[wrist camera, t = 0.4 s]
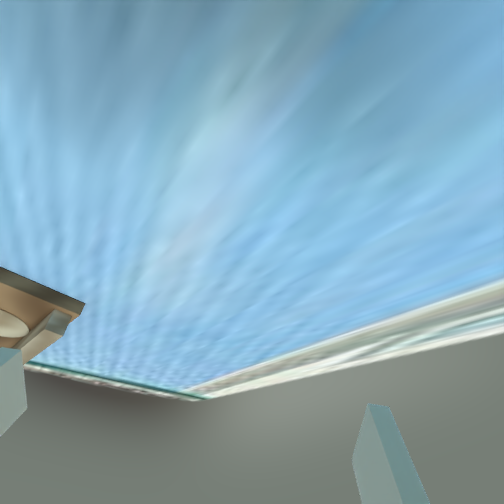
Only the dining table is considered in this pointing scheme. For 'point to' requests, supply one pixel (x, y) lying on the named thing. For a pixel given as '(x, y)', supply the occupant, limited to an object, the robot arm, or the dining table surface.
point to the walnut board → (32, 314)
